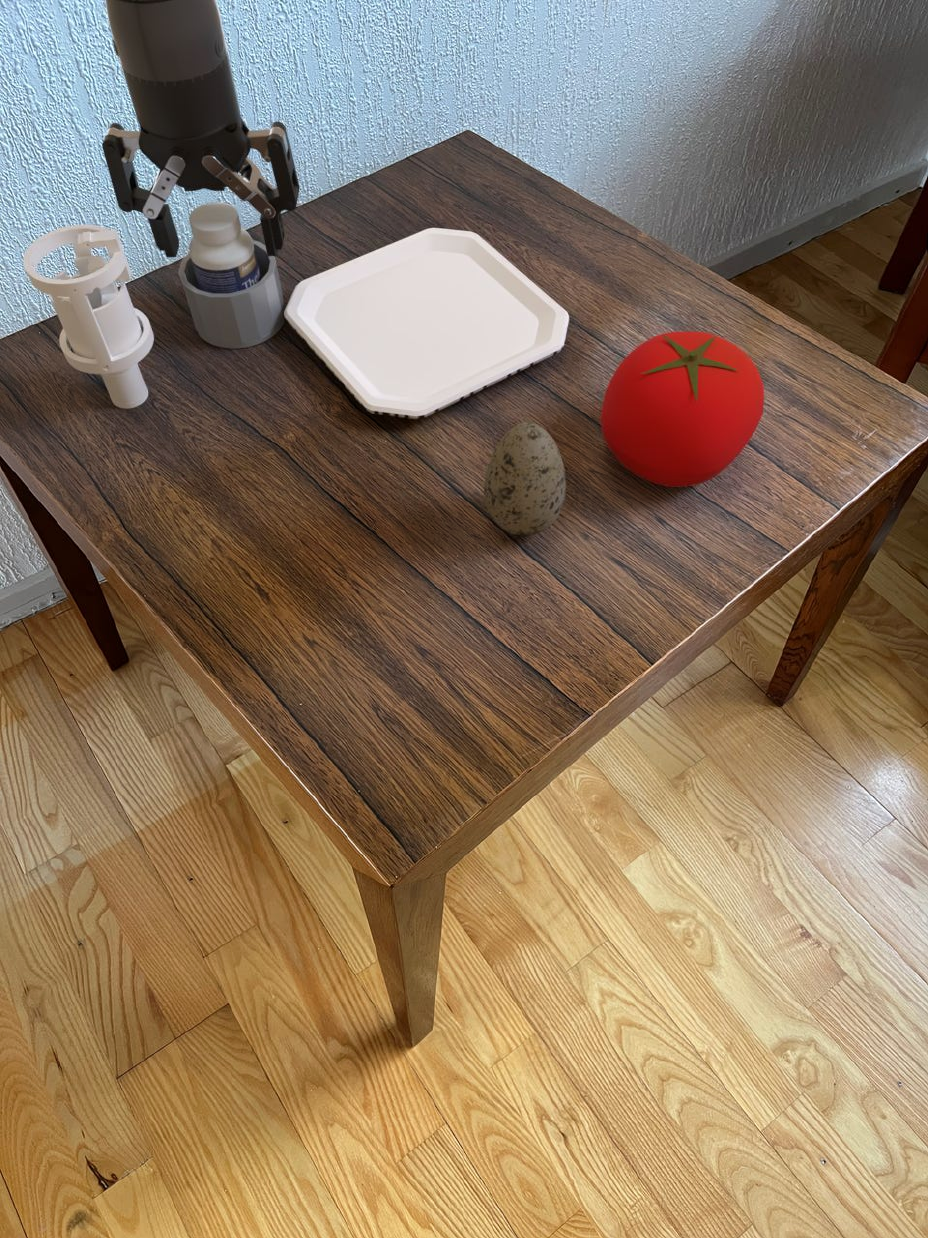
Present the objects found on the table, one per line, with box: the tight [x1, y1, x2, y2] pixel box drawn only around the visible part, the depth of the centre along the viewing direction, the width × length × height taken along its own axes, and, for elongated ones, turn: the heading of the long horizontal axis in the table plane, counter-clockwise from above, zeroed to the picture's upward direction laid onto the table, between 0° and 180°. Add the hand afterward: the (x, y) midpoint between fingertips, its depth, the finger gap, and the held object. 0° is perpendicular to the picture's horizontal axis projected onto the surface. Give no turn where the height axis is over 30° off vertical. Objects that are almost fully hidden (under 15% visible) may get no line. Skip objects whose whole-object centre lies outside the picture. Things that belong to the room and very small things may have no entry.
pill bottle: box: [188, 201, 261, 293], centre depth 82 cm, size 5×5×10 cm
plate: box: [284, 227, 570, 420], centre depth 85 cm, size 21×21×2 cm
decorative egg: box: [483, 422, 567, 537], centre depth 69 cm, size 6×6×10 cm
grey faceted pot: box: [178, 239, 286, 350], centre depth 85 cm, size 8×8×6 cm
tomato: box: [600, 330, 765, 488], centre depth 72 cm, size 11×12×10 cm
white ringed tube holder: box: [22, 224, 155, 410], centre depth 75 cm, size 7×7×15 cm
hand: (223, 251), depth 81 cm, fingers open, 8 cm apart
